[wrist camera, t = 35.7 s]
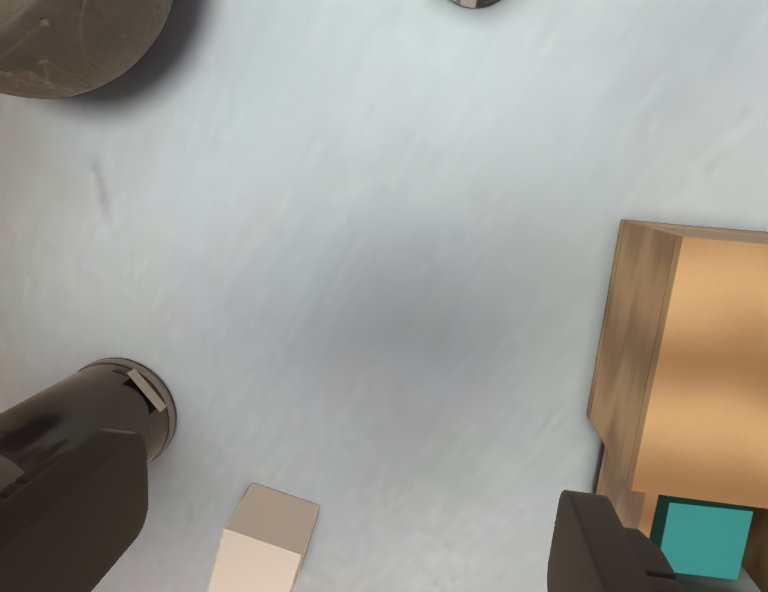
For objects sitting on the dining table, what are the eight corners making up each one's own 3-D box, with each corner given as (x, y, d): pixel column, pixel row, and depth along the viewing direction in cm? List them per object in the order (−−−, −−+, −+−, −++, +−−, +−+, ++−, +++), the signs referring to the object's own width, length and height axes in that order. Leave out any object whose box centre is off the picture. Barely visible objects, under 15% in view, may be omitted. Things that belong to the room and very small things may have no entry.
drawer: (716, 610, 42) (780, 714, 34) (566, 588, 43) (594, 684, 35) (772, 398, 38) (860, 459, 30) (605, 380, 39) (646, 433, 31)
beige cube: (252, 482, 45) (224, 527, 39) (320, 505, 45) (301, 554, 39) (236, 541, 47) (206, 593, 41) (302, 563, 46) (281, 619, 41)
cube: (702, 530, 40) (737, 580, 35) (631, 522, 40) (656, 570, 35) (715, 468, 38) (753, 511, 34) (641, 461, 39) (669, 502, 34)
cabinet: (763, 435, 39) (867, 522, 30) (586, 414, 41) (630, 491, 31) (815, 236, 36) (952, 260, 26) (621, 219, 37) (683, 236, 27)
